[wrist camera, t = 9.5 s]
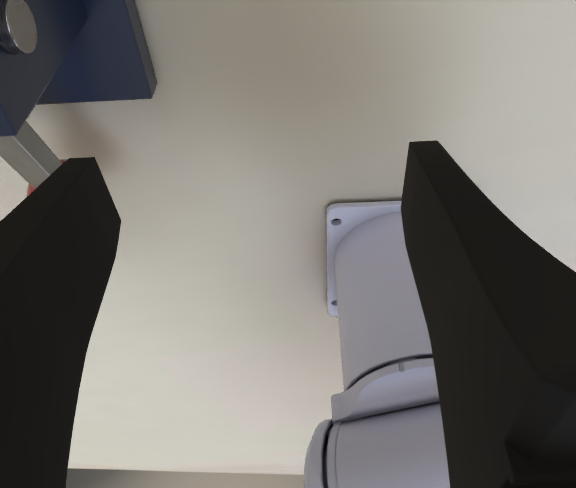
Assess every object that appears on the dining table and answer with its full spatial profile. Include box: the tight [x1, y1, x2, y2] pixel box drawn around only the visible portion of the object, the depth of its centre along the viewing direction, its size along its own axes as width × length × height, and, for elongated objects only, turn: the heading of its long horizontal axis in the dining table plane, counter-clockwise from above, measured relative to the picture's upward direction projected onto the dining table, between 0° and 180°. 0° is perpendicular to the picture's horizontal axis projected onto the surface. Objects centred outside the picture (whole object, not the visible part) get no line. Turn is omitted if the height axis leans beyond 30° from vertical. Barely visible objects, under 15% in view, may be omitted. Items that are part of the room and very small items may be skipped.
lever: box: [0, 121, 66, 196], centre depth 18 cm, size 12×3×3 cm, turn 5°
